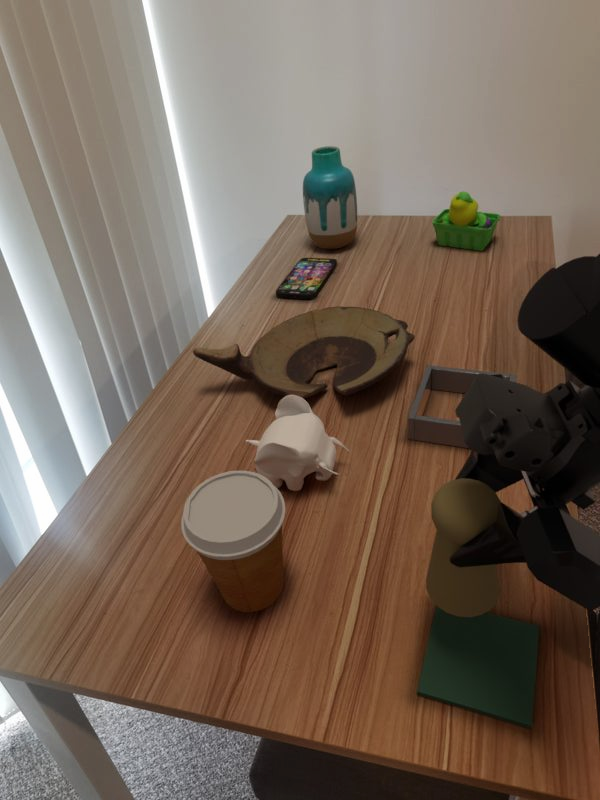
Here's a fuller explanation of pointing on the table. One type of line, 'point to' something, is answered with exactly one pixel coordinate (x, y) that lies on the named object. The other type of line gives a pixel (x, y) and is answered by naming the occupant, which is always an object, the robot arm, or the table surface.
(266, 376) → the brown shallow dish
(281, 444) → the elephant figurine
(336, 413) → the table surface
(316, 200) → the vase
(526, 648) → the coaster
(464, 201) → the fruit basket
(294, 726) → the table surface
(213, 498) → the disposable coffee cup
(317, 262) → the smartphone
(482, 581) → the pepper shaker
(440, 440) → the holder
